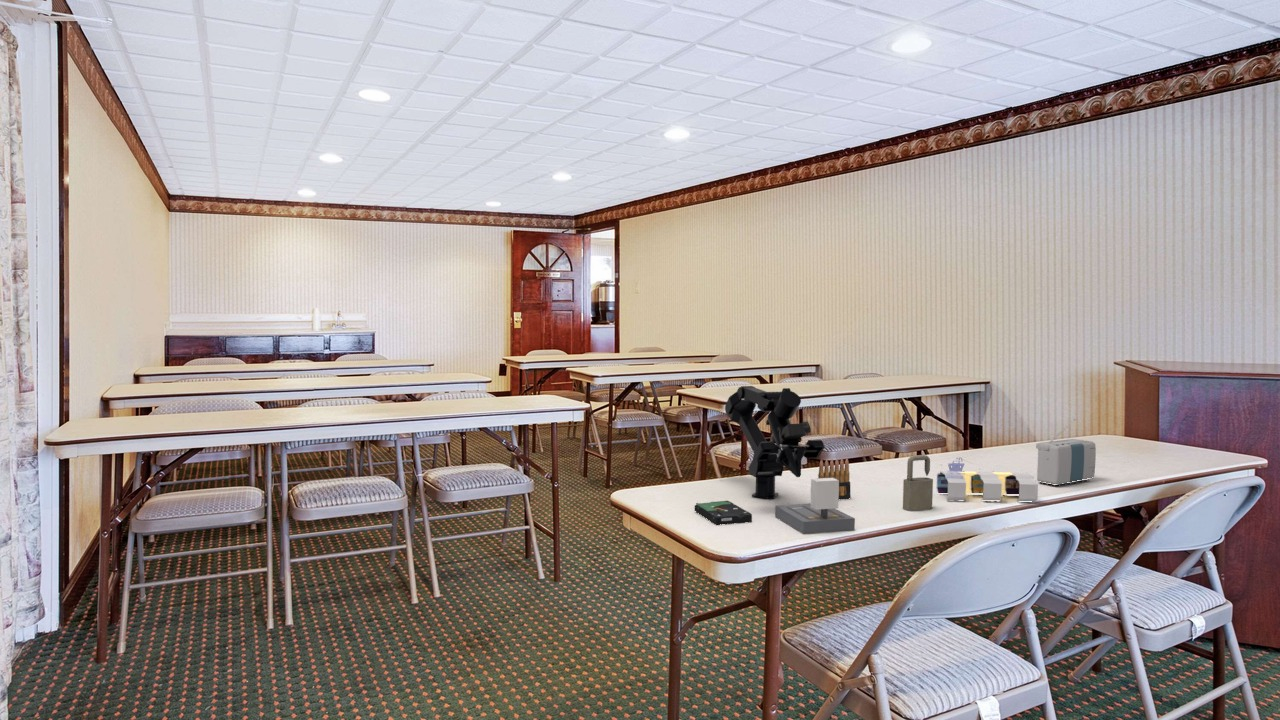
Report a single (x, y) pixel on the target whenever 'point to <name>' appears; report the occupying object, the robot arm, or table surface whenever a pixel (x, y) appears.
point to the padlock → (917, 487)
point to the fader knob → (824, 494)
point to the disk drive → (723, 512)
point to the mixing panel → (814, 519)
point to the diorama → (985, 484)
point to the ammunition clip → (837, 476)
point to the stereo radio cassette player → (1065, 460)
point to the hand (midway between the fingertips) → (798, 476)
